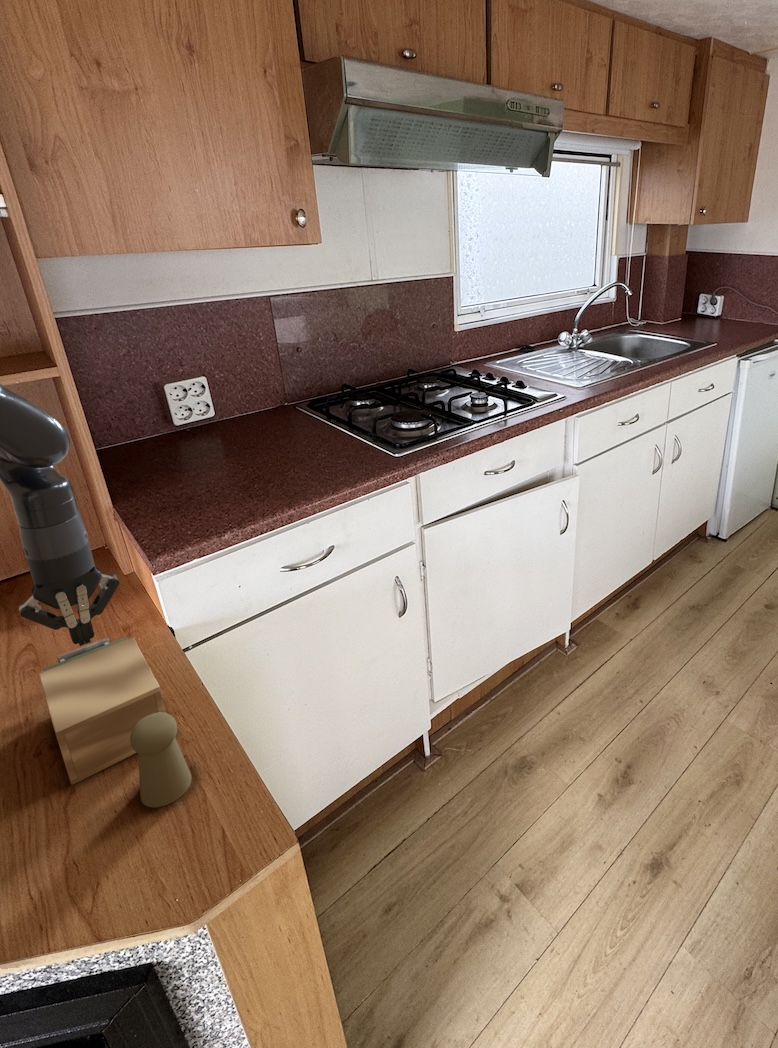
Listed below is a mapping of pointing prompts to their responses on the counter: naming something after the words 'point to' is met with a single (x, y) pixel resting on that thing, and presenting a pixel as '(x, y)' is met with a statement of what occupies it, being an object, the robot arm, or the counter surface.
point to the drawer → (83, 651)
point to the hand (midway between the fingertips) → (84, 641)
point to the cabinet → (100, 706)
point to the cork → (159, 760)
